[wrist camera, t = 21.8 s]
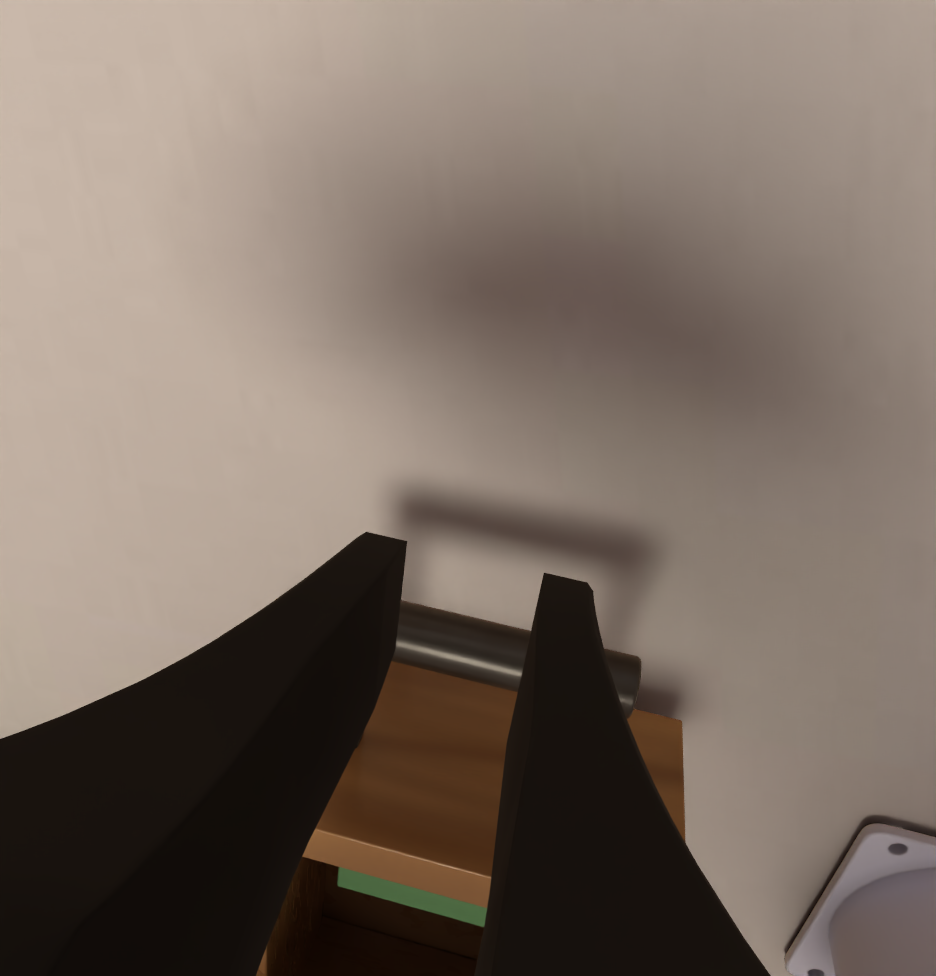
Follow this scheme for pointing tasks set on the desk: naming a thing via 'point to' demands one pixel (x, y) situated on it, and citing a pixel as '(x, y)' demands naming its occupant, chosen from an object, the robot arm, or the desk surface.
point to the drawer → (431, 803)
